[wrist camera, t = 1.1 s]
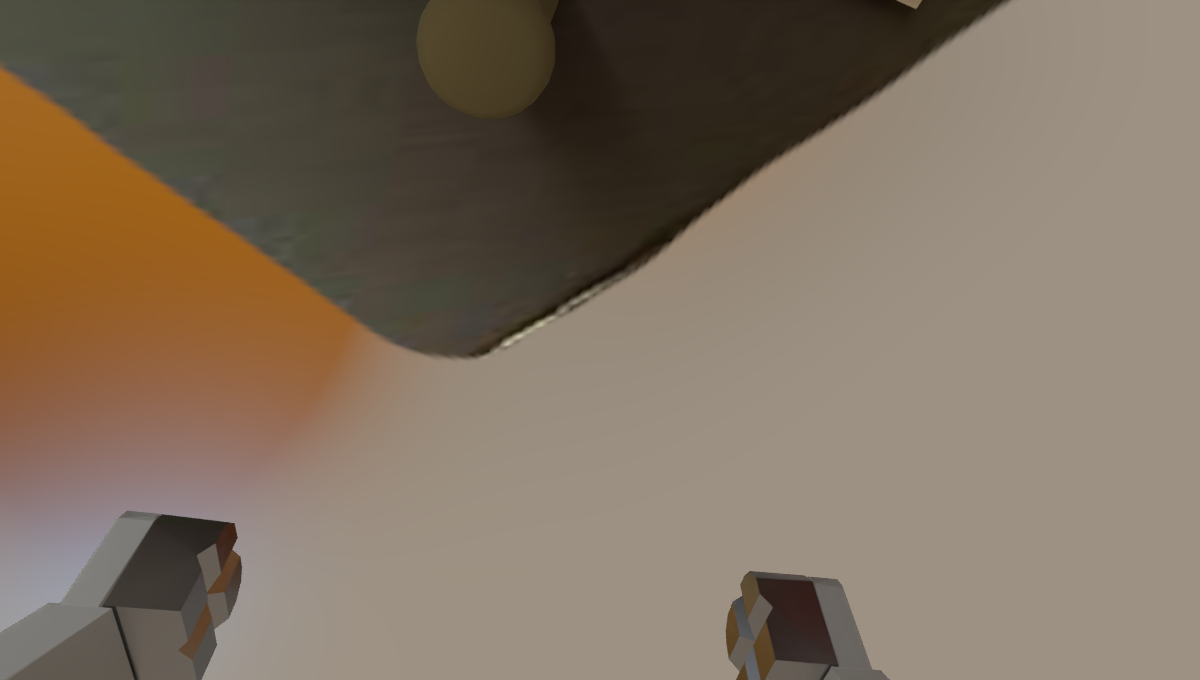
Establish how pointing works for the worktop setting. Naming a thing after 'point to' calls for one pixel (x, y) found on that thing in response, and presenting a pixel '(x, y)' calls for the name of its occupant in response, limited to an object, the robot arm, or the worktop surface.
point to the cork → (487, 53)
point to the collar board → (911, 3)
